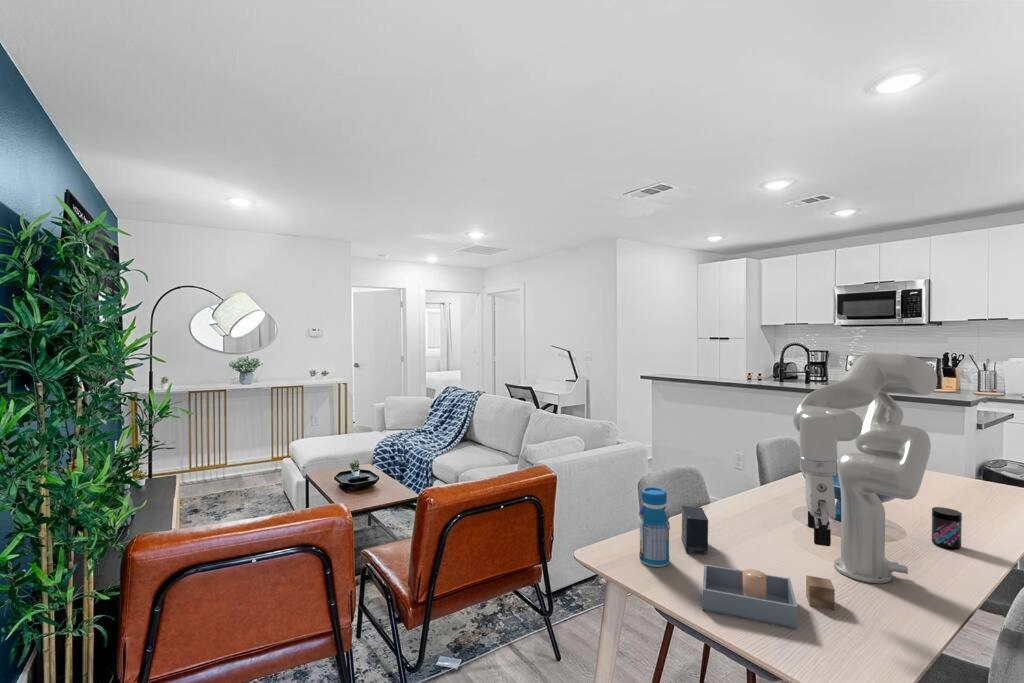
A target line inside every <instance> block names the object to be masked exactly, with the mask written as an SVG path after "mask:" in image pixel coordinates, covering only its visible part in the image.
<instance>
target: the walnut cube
mask: <svg viewBox="0 0 1024 683" xmlns="http://www.w3.org/2000/svg"><path fill="white" fill-rule="evenodd" d="M805 578H806V579H805V587H806V588H805V591H806V592H805V594H806V596H805V597H806V600H807V603H808V606H809V607H813V608H820V609H825V610H829V609H830V611H835V602H836V601H835V599H836V598H835V597H836V596H835V595H836V593H835V591H836V589H835V587H834V584H833V582H832V580H831V579H830V578H825V577H819V576H813V575H806V576H805Z"/></svg>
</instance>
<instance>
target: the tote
mask: <svg viewBox="0 0 1024 683" xmlns="http://www.w3.org/2000/svg"><path fill="white" fill-rule="evenodd" d="M764 574H765V575H766V591H767V600H764V599H759V598H753V597H748V596H743V570H741V569H734V568H728V567H723V566H719V565H717V566H716V565H712V564H711V565H710V564H705V563H704V565H703V576H702V578H703V579H702V611H703V612H705V613H706V612H707V613H712V614H717V615H722V616H727V617H731V618H738V619H742V620H747V621H751V622H752V621H753V622H756V623H757V622H758V623H761V624H768V625H771V626H777V627H781V628H786V629H787V628H788V629H793V630H796V631H797V630H799V629H798V620H799V619H798V618H799V617H798V616H799V615H798V614H799V613H798V610H799V608H798V604H797V600H796V596H795V592H794V589H793V585H792V582H791V578H790V577H789V578H788V577H785V576H784V577H783V576H778V575H771V574H766V573H764Z"/></svg>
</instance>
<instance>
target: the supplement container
mask: <svg viewBox="0 0 1024 683" xmlns="http://www.w3.org/2000/svg"><path fill="white" fill-rule="evenodd" d="M962 522H963V513H962V512H961V511H959V510H957V509H953V508H949V507H941V506H940V507H939V506H934V507H932V508H931V543H932V544H933V545H935V546H936V547H939V548H941V549H945V550H949V551H958V550H960V549H961V548H962V526H963V525H962Z"/></svg>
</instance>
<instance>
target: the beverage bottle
mask: <svg viewBox="0 0 1024 683" xmlns="http://www.w3.org/2000/svg"><path fill="white" fill-rule="evenodd" d="M667 498H668V497H667V491H666V490H665V489H663V488H660V487H653V486H651V487H644V488H643V489H641V502H642V503H643V504H642V505H641V507H640V509H639V511H638V514H639V517H640V518H639V520H638V527H639V553H638V554H639V557H638V558H639V560H640V562H641V563H643V564H644V565H645V566H649V567H653V568H654V567H655V568H663V567H666V566H667V565H669V563H670V528H671V524H670V521H669V519H670V513H669V510H668V508H667V507H666V504H667V502H668V501H667Z"/></svg>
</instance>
